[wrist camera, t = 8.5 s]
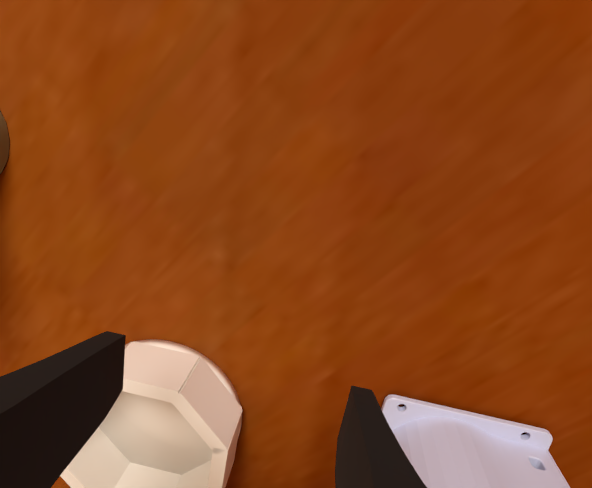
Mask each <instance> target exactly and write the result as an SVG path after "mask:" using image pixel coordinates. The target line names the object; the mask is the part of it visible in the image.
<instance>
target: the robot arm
mask: <svg viewBox="0 0 592 488" xmlns="http://www.w3.org/2000/svg"><path fill="white" fill-rule="evenodd" d="M125 336H126V335H121V334H117V333H112V332H108V331H107V332H104V333H101V334H99V335H97V336H94V337H92V338H90V339H88V340H85V341H83V342H81V343H79V344H77V345H74V346H72V347H70V348H68V349H66V350H63V351H61V352H59V353H57V354H55V355H52V356H50V357H48V358H46V359H43V360H41V361H38V362H36V363H34V364H31V365H29V366H26V367H24V368H21V369H19V370H16V371H14V372H11V373H9V374H6V375H4V376H1V377H0V488H51V487H52V485H53V484H54V483H55V481H56V480H57V479H58V478H59V476H60V475H61V474H62V472H63V471H64V470H65V469H66V467H67V466H68V465H69V464H70V462H71V461H72V460H73V459H74V457H75V456H76V455H77V454H78V452H79V451H80V450H81V449H82V447H83V446H84V445H85V444H86V442H87V441H88V440H89V438H90V437H91V436H92V435H93V433H94V432H95V431H96V430H97V428H98V427H99V426H100V424H101V423H102V422H103V420H104V419H105V418H106V416H107V415H108V413H109V411H110V410H111V408H112V407H113V405H114V403H115V402H116V400H117V398H118V397H119V395H120V393H121V391H122V390H123V377H124V356H125ZM400 404H404V405H405V406H403V407H399V406H398V405H400ZM524 432H527V433H526V434H524V435H521V434H522V433H524ZM552 440H553V438H552V436H551V434H550V433H549V431H548V430H546V429H543V428H539V427H534V426H530V425H525V424H521V423H517V422H512V421H508V420H503V419H499V418H495V417H490V416H486V415H481V414H477V413H473V412H468V411H464V410H459V409H455V408H451V407H446V406H442V405H437V404H433V403H429V402H424V401H420V400H415V399H411V398H407V397H402V396H398V395H388V396H387V397H385V399H384V402H383V405H382V409H381V408H380V406H379V404H378V402H377V399H376V397H375V395H374V393H373V392H372V390H369V389H365V388H360V387H356V386H351V390H350V394H349V398H348V401H347V405H346V409H345V413H344V416H343V420H342V424H341V428H340V431H339V435H338V441H337V453H336V467H335V483H336V488H570V487H569V485H568V483H567V481H566V480H565V478H564V476H563V475H562V473H561V471H560V470H559V468H558V466H557V465H556V463H555V461H554V460H553V458H552V456H551V454H550V453H549V451H548V449H549V447H550V445H551V443H552Z"/></svg>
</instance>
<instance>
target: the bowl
mask: <svg viewBox="0 0 592 488" xmlns="http://www.w3.org/2000/svg"><path fill="white" fill-rule="evenodd" d="M242 411H243V410H242V407H241V405H240V400H239V398H238V395H237V392H236V390H235V388H234V387H233V385H232V383H231V381H230V380H229V379H228V377H227V376H226V374H225V373H224V372H223V371H222V370H221V369H220V368H219V367H218V366H217V365H216V364H215V363H214V362H212V361H211V360H210V359H209V358H207V357H206V356H204V355H203V354H201V353H199V352H198V351H196V350H194V349H192V348H190V347H187V346H185V345H182V344H179V343H175V342H172V341H166V340H155V339H149V340H139V341H134V342H130V343H128V344H125V356H124V377H123V390H122V391H121V393H120V395H119V397H118V398H117V400H116V402H115V403H114V405H113V407H112V408H111V410H110V411H109V413H108V415H107V416H106V418H105V419H104V420H103V422H102V423H101V424H100V426H99V427H98V428H97V430H96V431H95V432H94V433H93V435H92V436H91V437H90V438H89V440H88V441H87V442H86V444H85V445H84V446H83V447H82V449H81V450H80V451H79V452H78V454H77V455H76V456H75V457H74V459H73V460H72V461H71V462H70V464H69V465H68V466H67V467H66V469H65V470H64V471H63V472H62V474H61V475H60V476H61V477H62V478H63V479H64V480H65V481H66V483H67V484H68V485H69V486H70V487H71V488H225V487H226V484H227V481H228V478H229V475H230V472H231V469H232V466H233V463H234V458H235V452H236V446H237V440H238V437H239V434H240V430H241V426H242Z"/></svg>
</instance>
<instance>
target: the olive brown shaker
mask: <svg viewBox="0 0 592 488" xmlns="http://www.w3.org/2000/svg"><path fill="white" fill-rule="evenodd" d="M9 146H10V140H9V135H8V129H7V124H6V122H5V120H4V117H3V115H2V113H1V111H0V174H1V173H2V171H3V169H4V167H5V164H6V162H7V160H8V156H9Z"/></svg>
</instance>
